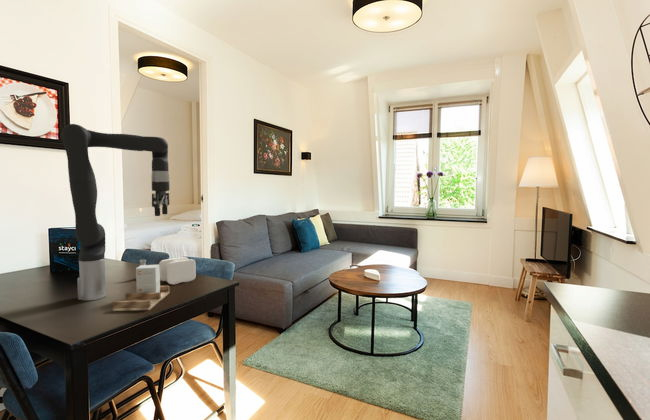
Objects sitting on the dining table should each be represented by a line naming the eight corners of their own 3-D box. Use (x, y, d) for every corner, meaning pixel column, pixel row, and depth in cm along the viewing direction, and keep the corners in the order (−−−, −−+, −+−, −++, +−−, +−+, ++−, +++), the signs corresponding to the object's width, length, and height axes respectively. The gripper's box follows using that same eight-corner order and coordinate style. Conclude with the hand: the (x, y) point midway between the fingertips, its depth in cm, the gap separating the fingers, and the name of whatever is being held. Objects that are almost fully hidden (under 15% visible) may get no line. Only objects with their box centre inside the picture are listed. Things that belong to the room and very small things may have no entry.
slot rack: (112, 310, 131) (112, 302, 131) (138, 293, 153) (138, 285, 152) (149, 310, 133) (149, 301, 132) (169, 292, 154) (169, 285, 154)
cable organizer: (166, 286, 164) (165, 263, 163) (159, 281, 171) (158, 259, 170) (196, 280, 174) (195, 259, 173) (187, 276, 182) (187, 255, 181)
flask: (147, 275, 182) (146, 258, 181) (153, 278, 177) (152, 260, 177) (133, 278, 176) (132, 260, 176) (138, 281, 172) (138, 262, 171)
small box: (160, 292, 151) (159, 264, 151) (156, 296, 145) (155, 267, 144) (141, 292, 150) (140, 264, 149) (136, 297, 144) (135, 268, 143)
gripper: (158, 181, 162) (159, 213, 163) (145, 180, 147) (146, 216, 149) (174, 181, 162) (174, 213, 163) (162, 180, 148) (163, 216, 149)
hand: (161, 215), depth 156 cm, fingers open, 8 cm apart
